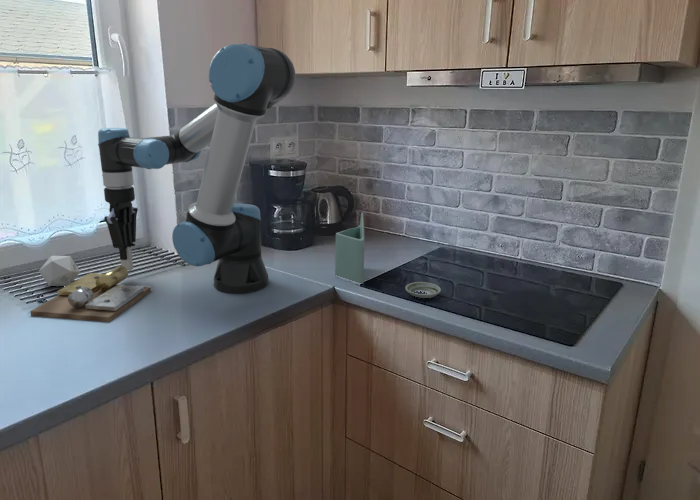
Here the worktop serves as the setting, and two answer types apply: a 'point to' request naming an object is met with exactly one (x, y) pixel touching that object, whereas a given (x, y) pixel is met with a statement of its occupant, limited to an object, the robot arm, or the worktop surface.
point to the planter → (350, 253)
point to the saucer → (423, 289)
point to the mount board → (82, 308)
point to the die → (59, 271)
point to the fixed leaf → (104, 297)
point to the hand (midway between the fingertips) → (127, 269)
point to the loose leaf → (97, 281)
